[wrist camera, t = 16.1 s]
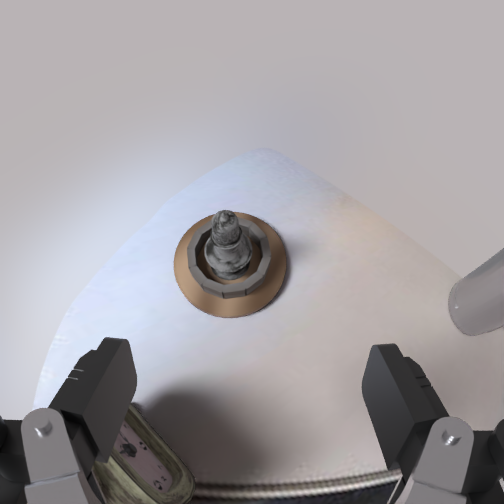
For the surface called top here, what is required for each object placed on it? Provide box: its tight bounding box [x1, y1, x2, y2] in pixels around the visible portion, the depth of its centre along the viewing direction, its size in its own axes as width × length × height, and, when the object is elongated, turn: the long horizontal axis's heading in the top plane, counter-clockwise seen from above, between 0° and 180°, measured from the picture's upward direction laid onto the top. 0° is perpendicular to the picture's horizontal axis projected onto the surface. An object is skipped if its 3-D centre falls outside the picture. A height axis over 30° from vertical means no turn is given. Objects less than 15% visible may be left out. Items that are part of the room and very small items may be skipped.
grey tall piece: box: [204, 210, 253, 280], centre depth 38 cm, size 6×6×12 cm
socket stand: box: [174, 212, 286, 318], centre depth 42 cm, size 15×15×4 cm
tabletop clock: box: [27, 403, 195, 504], centre depth 22 cm, size 14×9×25 cm, turn 43°
